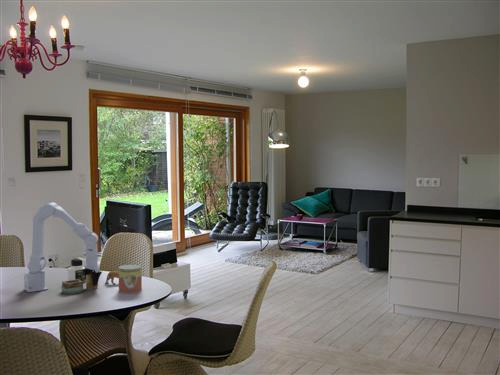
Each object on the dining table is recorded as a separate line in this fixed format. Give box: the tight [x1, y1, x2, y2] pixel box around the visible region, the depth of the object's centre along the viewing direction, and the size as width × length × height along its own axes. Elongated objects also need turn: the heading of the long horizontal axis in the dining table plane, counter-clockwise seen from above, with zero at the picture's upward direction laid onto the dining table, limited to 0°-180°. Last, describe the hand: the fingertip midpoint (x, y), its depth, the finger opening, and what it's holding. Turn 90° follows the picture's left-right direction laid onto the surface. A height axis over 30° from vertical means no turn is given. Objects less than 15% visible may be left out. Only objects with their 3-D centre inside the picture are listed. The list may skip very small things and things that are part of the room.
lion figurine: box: [104, 270, 119, 285], centre depth 271 cm, size 15×5×9 cm, turn 130°
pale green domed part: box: [61, 285, 84, 295], centre depth 253 cm, size 10×10×2 cm
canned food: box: [117, 264, 143, 295], centre depth 256 cm, size 11×11×12 cm
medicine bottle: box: [67, 257, 86, 283], centre depth 274 cm, size 7×7×12 cm
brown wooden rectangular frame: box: [61, 279, 84, 289], centre depth 253 cm, size 8×6×2 cm
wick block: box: [85, 274, 99, 291], centre depth 260 cm, size 5×2×7 cm, turn 130°
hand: (92, 283), depth 260 cm, fingers open, 7 cm apart
